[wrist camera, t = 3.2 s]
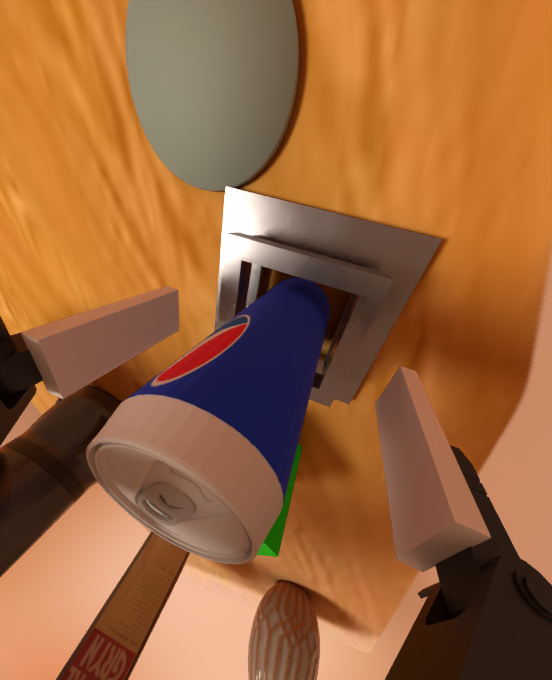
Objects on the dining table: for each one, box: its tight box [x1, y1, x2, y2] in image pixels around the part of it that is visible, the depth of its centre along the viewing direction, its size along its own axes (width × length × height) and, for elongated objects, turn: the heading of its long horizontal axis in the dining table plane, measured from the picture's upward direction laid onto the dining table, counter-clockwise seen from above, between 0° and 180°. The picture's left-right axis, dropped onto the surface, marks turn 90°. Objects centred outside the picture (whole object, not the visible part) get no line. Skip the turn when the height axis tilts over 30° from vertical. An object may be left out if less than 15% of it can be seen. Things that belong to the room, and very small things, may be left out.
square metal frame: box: [215, 186, 442, 407], centre depth 16 cm, size 14×14×5 cm
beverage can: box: [86, 278, 330, 564], centre depth 11 cm, size 5×5×15 cm
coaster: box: [126, 0, 299, 192], centre depth 13 cm, size 11×11×1 cm
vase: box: [248, 581, 320, 680], centre depth 39 cm, size 13×13×18 cm
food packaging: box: [56, 531, 190, 680], centre depth 39 cm, size 13×9×25 cm
